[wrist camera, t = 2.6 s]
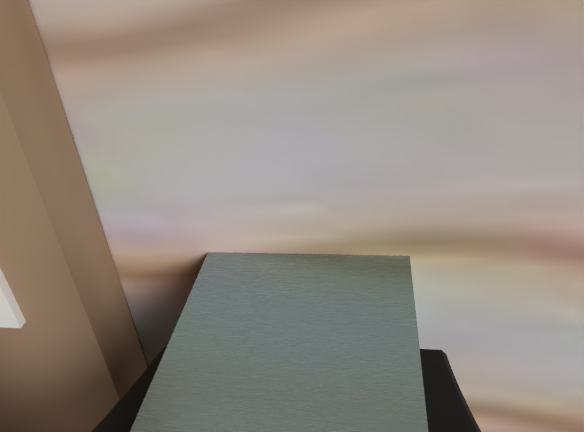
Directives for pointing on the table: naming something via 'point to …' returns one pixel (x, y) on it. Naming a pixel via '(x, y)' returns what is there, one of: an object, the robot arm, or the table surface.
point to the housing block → (292, 348)
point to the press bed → (52, 258)
